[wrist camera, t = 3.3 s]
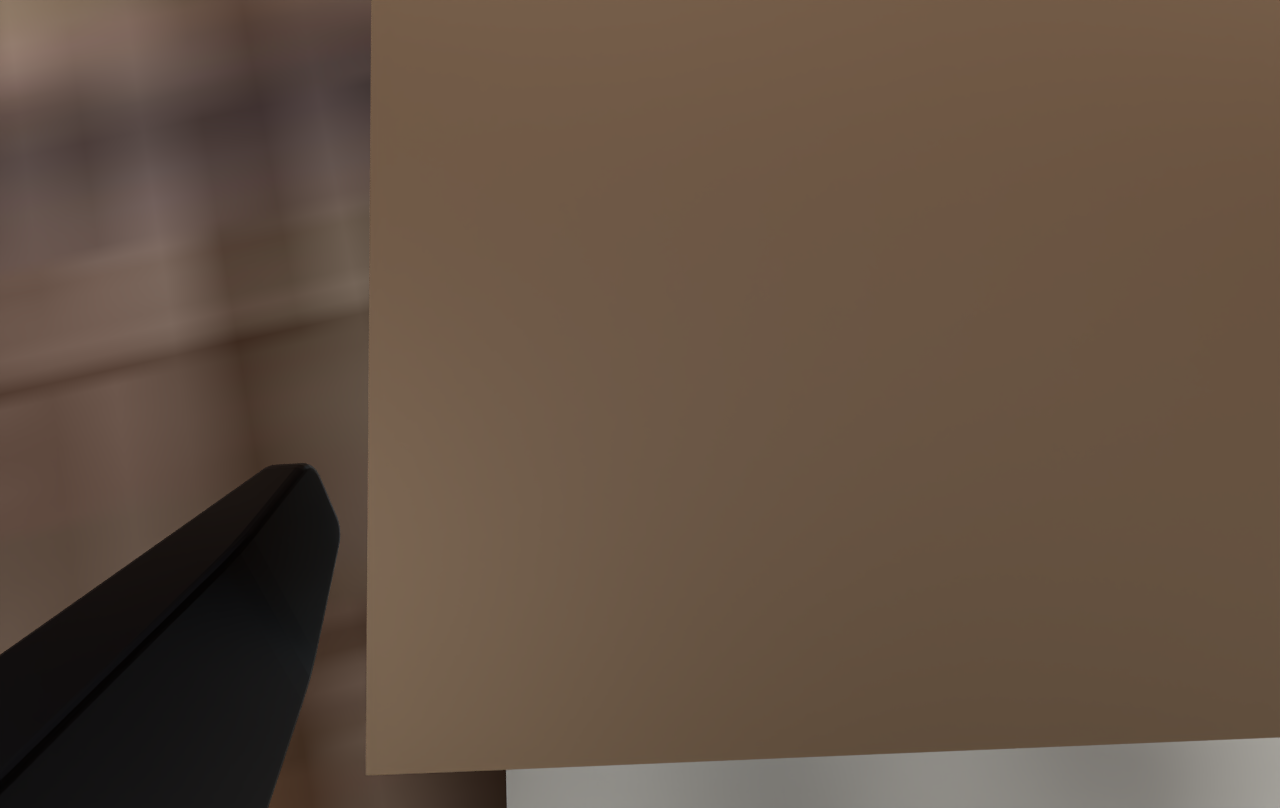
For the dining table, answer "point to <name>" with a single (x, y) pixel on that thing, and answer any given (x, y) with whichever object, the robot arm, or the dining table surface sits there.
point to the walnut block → (820, 378)
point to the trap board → (931, 780)
